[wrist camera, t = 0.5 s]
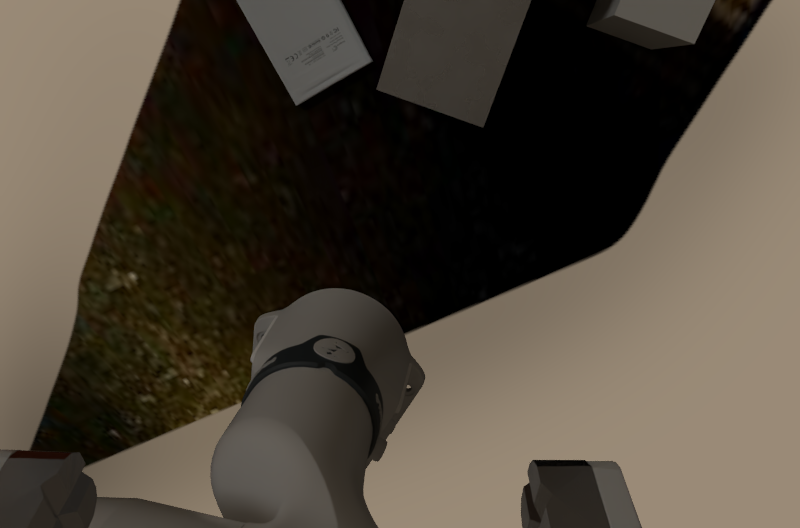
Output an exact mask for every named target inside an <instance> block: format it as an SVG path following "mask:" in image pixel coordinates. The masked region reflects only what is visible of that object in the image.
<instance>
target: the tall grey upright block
mask: <svg viewBox="0 0 800 528" xmlns="http://www.w3.org/2000/svg"><path fill="white" fill-rule="evenodd" d="M714 2H715V0H596V3H595V5H594V8H593V10H592V13H591V15H590V17H589V20H588V22H587V25H586V26H587V27H590V28H593V29H596V30H598V31H601V32H604V33H607V34H610V35H612V36H615V37H618V38H621V39H623V40H626V41H629V42H632V43H635V44H637V45H640V46H643V47H646V48H649V49H659V48H667V47H675V46H683V45H691V44H695V42H696V40H697V38H698V35H699V33H700V31H701V29H702V27H703V25H704V23H705V21H706V19H707V16H708V14H709V12H710V10H711V8H712V6H713V4H714Z"/></svg>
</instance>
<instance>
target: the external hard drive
mask: <svg viewBox="0 0 800 528" xmlns="http://www.w3.org/2000/svg"><path fill="white" fill-rule="evenodd" d="M237 2H238V4H239V6H240V7H241V9H242V11H243V13H244V15H245V16H246V18H247V20H248V22H249V23H250V25H251V27H252V29H253V30H254V32H255V34H256V36H257V37H258V39H259V41H260V43H261V44H262V46H263V48H264V50H265V52H266V53H267V55H268V57H269V59H270V60H271V62H272V64H273V66H274V67H275V69H276V71H277V73H278V74H279V76H280V78H281V80H282V81H283V83H284V85H285V87H286V88H287V90H288V92H289V94H290V96H291V97H292V99H293V101H294V103H295V104H296V106H297V105H300V104H301V103H303V102H305V101H306V100H308V99H310V98H311V97H313V96H315V95H317V94H318V93H320V92H322V91H323V90H325V89H327V88H328V87H330V86H331V85H333V84H335V83H336V82H338V81H340V80H342V79H344V78H346V77H347V76H349V75H351V74H352V73H354V72H356V71H358V70H359V69H361V68H363V67H364V66H366V65H368V64H370V63H371V62H373V61H372V59H371V57H370V55H369V53H368V51H367V49H366V47H365V45H364V43H363V41H362V39H361V37H360V35H359V34H358V32H357V30H356V28H355V26H354V24H353V22H352V20H351V18H350V16H349V14H348V12H347V10H346V9H345V7H344V5H343V3H342V1H341V0H237Z"/></svg>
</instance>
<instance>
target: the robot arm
mask: <svg viewBox="0 0 800 528" xmlns="http://www.w3.org/2000/svg"><path fill="white" fill-rule="evenodd" d="M263 334H264V335H263ZM250 361H251V362H252V375H251V381H250V383H249V385H248V387H247V389H246V392H245V395H244V397H243V400H242V404H241V408H240V409H239V411H238V412H237V414H236V415H235V417H234V419H233V420H232V422H231V423H230V424H229V426H228V428H227V429H226V431H225V432H224V434H223V435H222V437H221V438H220V440H219V442H218V444H217V445H216V448H215V451H214V455H213V458H212V463H211V485H212V489H213V493H214V496H215V499H216V501H217V504H218V507H219V509H220V511H221V513H222V515H223V518H221V517H217V516H212V515H208V514H204V513H199V512H195V511H191V510H186V509H182V508H178V507H174V506H169V505H165V504H160V503H156V502H152V501H147V500H143V499H138V498H109V497H97V494H96V486H95V484H94V481H93V479H92V478H90V477H89V476H87V475H86V474H84V473H83V472H82V470H83V468H84V466H85V462H84V460H83V458H82V456H81V454H80V453H79V452H52V451H22V450H0V528H378V527H377V525H376V524H375V522H374V520H373V518H372V516H371V514H370V512H369V510H368V508H367V505H366V503H365V500H364V496H363V485H364V476H365V469H366V468H367V466H368V465H369V463H370V462H371V461H372V460H374V461H379V460H380V458H381V457H382V455H383V453H384V451H385V449H386V446H387V441H386V439H387V437H388V435H389V434H391V433H392V432H393V430H394V428H395V425H396V424H397V422H398V421H399V419H400V418H401V417H402V415H403V414H404V412H405V411H406V409H407V408H408V406H409V405H410V403H411V402H412V400H413V399H414V397H415V396H416V395H417V393H418V392H419V390H420V389H421V387H422V385H423V383H424V380H425V374H424V372H423V370H422V368H421V367H420V366H419V364H418V363H417V362H416V360H415V359H414V358H413V357H412V356H411V354H410V352H409V349H408V346H407V342H406V338H405V335H404V333H403V330H402V328H401V326H400V325H399V323H398V321H397V320H396V319H395V317H394V316H393V315H392V314H391V312H390V311H389V310H388V309H387V308H385V307H384V306H383V305H382V304H381V303H379V302H378V301H376V300H375V299H373V298H371V297H369V296H367V295H365V294H362V293H360V292H357V291H353V290H348V289H340V288H330V289H323V290H318V291H314V292H312V293H309V294H307V295H305V296H303V297H301V298H299V299H298V300H296V301H295V302H294V303H292V304H291V305H290V306H288V307H287V308H285V309H283V310H279V311H274V312H269V313H266V314H263V315H261V316H260V317H259V318H258V319H257V321H256V323H255V326H254V340H253V353H252V356H251V359H250ZM407 385H410V386H411V388H409V389H408V388H406V387H407ZM528 477H529V482H530V483H528V484H527V485H526V486H524V488H523V493H522V498H521V518H522V527H523V528H642V527H641V524H640V521H639V519H638V516H637V513H636V510H635V507H634V505H633V502H632V499H631V496H630V494H629V491H628V488H627V485H626V482H625V480H624V477H623V474H622V471H621V469H620V467H619V466H618V464H617V463H616V462H613V461H585V460H533V461H532V462H531V463H530V465H529V469H528Z"/></svg>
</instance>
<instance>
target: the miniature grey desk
mask: <svg viewBox="0 0 800 528" xmlns="http://www.w3.org/2000/svg"><path fill="white" fill-rule="evenodd" d="M530 2H531V0H404V3H403V6H402V9H401V12H400V15H399V19H398V22H397V25H396V28H395V32H394V35H393V38H392V41H391V44H390V48H389V51H388V54H387V57H386V61H385V64H384V67H383V70H382V73H381V77H380V80H379V83H378V86H377V89H376V90H379V91H382V92H385V93H388V94H390V95H393V96H396V97H399V98H401V99H404V100H407V101H410V102H413V103H415V104H418V105H421V106H424V107H427V108H429V109H432V110H435V111H438V112H441V113H443V114H446V115H449V116H452V117H455V118H457V119H460V120H463V121H466V122H469V123H471V124H474V125H477V126H480V127H484V124H485V122H486V119H487V116H488V114H489V111H490V108H491V106H492V103H493V100H494V98H495V95H496V92H497V90H498V87H499V84H500V82H501V79H502V77H503V74H504V71H505V69H506V66H507V63H508V61H509V58H510V55H511V53H512V50H513V47H514V45H515V42H516V40H517V37H518V34H519V32H520V29H521V26H522V24H523V21H524V18H525V16H526V13H527V10H528V8H529V5H530Z"/></svg>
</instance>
